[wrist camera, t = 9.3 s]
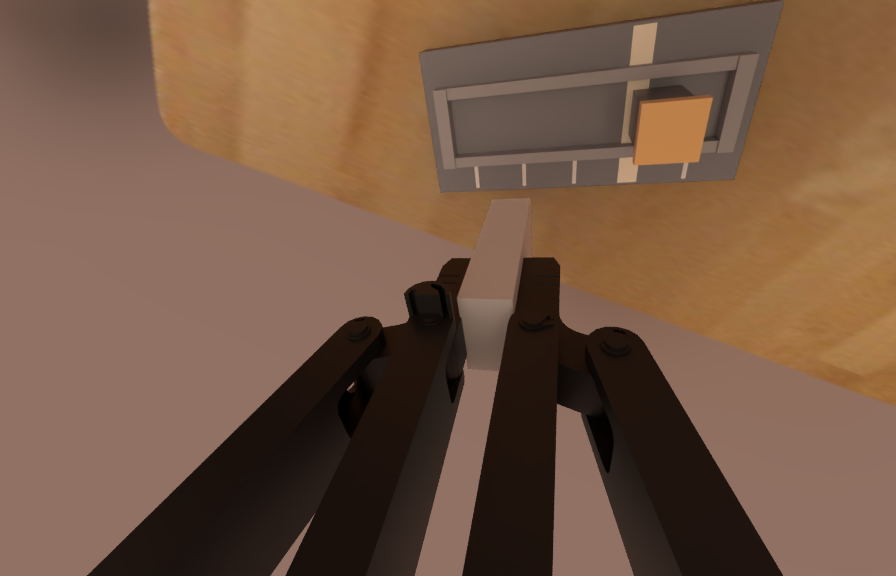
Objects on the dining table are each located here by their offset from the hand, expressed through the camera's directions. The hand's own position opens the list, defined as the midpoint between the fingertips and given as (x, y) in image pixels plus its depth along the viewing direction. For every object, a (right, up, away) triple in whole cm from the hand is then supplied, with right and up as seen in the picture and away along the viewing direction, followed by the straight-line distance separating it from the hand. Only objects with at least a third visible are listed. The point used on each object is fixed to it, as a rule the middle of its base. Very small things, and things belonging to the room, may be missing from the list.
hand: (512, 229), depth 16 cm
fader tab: (+12, +10, +12) cm, 20 cm away
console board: (+7, +12, +15) cm, 21 cm away
